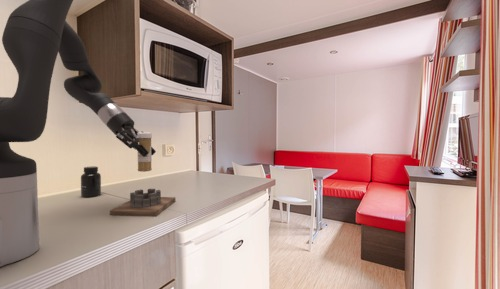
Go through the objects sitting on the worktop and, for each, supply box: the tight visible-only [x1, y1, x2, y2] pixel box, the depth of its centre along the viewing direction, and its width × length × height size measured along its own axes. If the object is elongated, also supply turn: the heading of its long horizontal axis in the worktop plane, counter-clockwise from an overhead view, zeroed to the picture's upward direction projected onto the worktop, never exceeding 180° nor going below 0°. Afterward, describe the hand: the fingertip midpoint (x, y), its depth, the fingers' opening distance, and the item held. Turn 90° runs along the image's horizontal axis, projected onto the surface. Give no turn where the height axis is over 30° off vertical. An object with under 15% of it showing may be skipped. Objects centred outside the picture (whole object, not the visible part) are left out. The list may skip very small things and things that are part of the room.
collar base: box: [109, 188, 176, 217], centre depth 78 cm, size 16×15×6 cm
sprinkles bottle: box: [137, 131, 153, 173], centre depth 77 cm, size 5×5×13 cm
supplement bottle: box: [80, 165, 102, 198], centre depth 92 cm, size 7×7×12 cm
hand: (150, 154), depth 77 cm, fingers closed on sprinkles bottle, 4 cm apart
